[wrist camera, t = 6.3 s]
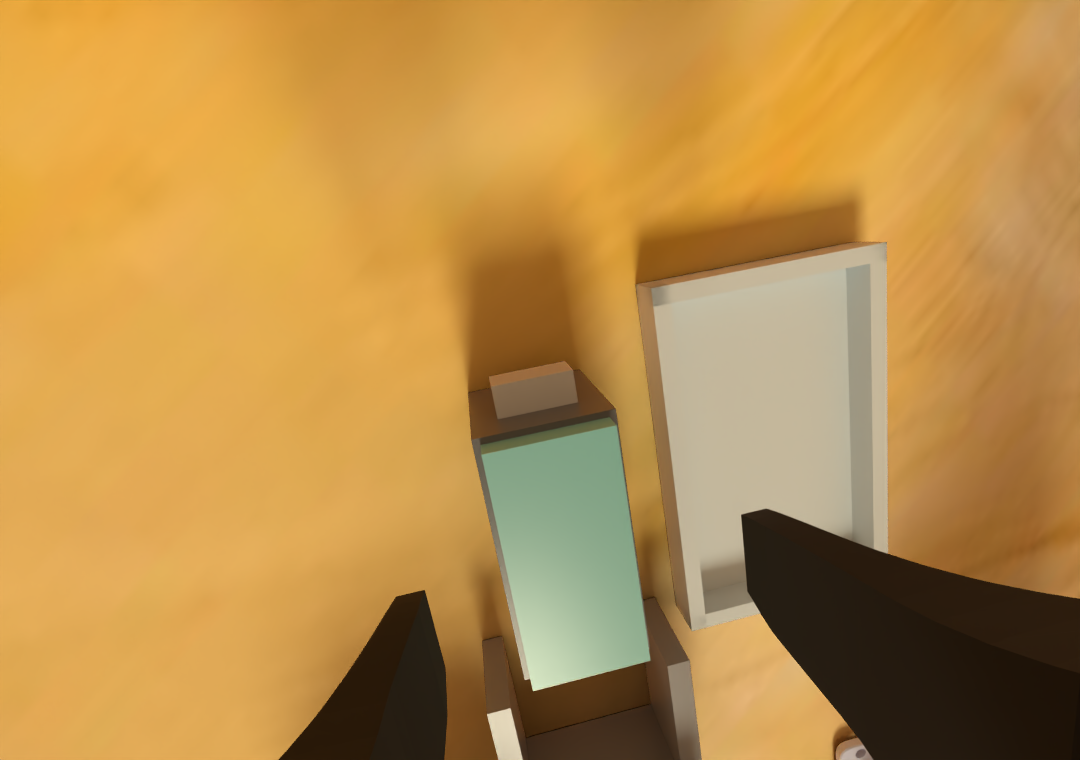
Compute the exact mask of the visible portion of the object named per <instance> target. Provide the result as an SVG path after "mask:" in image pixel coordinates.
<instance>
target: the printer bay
mask: <svg viewBox="0 0 1080 760" xmlns="http://www.w3.org/2000/svg"><path fill="white" fill-rule="evenodd" d="M643 603H644V610H645V617H646V624H647V631H648V638H649V645H650V648H649V654H650V661H648V662H645V668H646V675H647V681H648V688H649V695H650V701H651V704H650V705H646V706H642V707H639V708H635V709H631V710H627V711H624V712H620V713H616V714H613V715H609V716H605V717H602V718H598V719H594V720H591V721H587V722H583V723H580V724H576V725H572V726H569V727H565V728H561V729H558V730H554V731H550V732H547V733H543V734H539V735H536V736H532V737H528V738H526V737H525V733H524V729H523V724H522V720H521V716H520V711H519V707H518V703H517V698H516V694H515V690H514V685H513V681H512V677H511V672H510V668H509V664H508V659H507V655H506V650H505V646H504V642H503V637H502V636H500V637H496V638H492V639H488V640H484V641H482V646H483V661H484V677H485V692H486V707H487V717H488V721H489V725H490V729H491V733H492V737H493V740H494V744H495V748H496V752H497V756H498V760H702V758H701V750H700V742H699V733H698V725H697V717H696V709H695V701H694V693H693V685H692V676H691V668H690V660H689V659H688V657H687V655H686V653H685V651H684V650H683V648H682V646H681V644H680V642H679V641H678V639H677V637H676V635H675V633H674V632H673V630H672V628H671V626H670V624H669V623H668V621H667V619H666V617H665V615H664V614H663V612H662V610H661V608H660V606H659V605H658V603H657V601H656V599H655V597H654V598H650V599H646V600H643Z"/></svg>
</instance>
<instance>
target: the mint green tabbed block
mask: <svg viewBox="0 0 1080 760" xmlns="http://www.w3.org/2000/svg"><path fill="white" fill-rule="evenodd" d="M489 381H490V385H491V388H488V389H483V390H478V391H473V392H469V393H468V398H469V412H470V427H471V440H472V445H473V449H474V454H475V458H476V463H477V467H478V472H479V476H480V481H481V485H482V490H483V494H484V499H485V503H486V508H487V512H488V517H489V521H490V526H491V530H492V535H493V539H494V544H495V548H496V553H497V557H498V562H499V566H500V571H501V575H502V580H503V584H504V589H505V594H506V598H507V603H508V607H509V612H510V616H511V621H512V625H513V630H514V634H515V639H516V643H517V648H518V652H519V657H520V661H521V666H522V670H523V675H524V679H525V680H528V679H530V680H531V685H532V689H533V691H536V690H540V689H544V688H548V687H552V686H556V685H559V684H563V683H567V682H571V681H575V680H579V679H582V678H586V677H590V676H594V675H598V674H602V673H605V672H609V671H613V670H617V669H621V668H625V667H628V666H632V665H636V664H640V663H644V662H648V661H650V654H649V648H650V645H649V638H648V631H647V624H646V617H645V610H644V603H643V596H642V589H641V582H640V575H639V568H638V561H637V554H636V547H635V540H634V533H633V527H632V520H631V513H630V506H629V499H628V492H627V485H626V478H625V471H624V464H623V457H622V450H621V443H620V436H619V429H618V422H617V415H616V409H615V408H614V406H613V405H612V404H611V403H610V402H609V401H608V400H607V399H606V398H605V397H604V396H603V395H602V394H601V392H600V391H599V390H598V389H597V388H596V387H595V386H594V385H593V384H592V383H591V382H590V381H589V380H588V378H587V377H586V376H585V375H584V374H583V373H582V372H581V371H580V370H575V371H573V369H572V368H571V367H570V366H569V365H568V364H567V363H566V361H562V362H557V363H552V364H548V365H543V366H538V367H533V368H528V369H523V370H518V371H513V372H508V373H504V374H499V375H494V376H489Z"/></svg>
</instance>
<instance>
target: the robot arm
mask: <svg viewBox="0 0 1080 760" xmlns="http://www.w3.org/2000/svg"><path fill="white" fill-rule="evenodd" d="M741 521H742V533H743V545H744V557H745V569H746V581H747V592H748V593H749V595H750V597H751V598H752V600H753V602H754V603H755V605H756V607H757V608H758V610H759V612H760V613H761V615H762V616H763V618H764V619H765V621H766V623H767V624H768V626H769V627H770V629H771V630H772V632H773V633H774V634H775V635H776V637H777V638H778V639H779V641H780V642H781V643H782V644H783V646H784V647H785V648H786V649H787V650H788V652H789V653H790V654H791V655H792V657H793V658H794V659H795V660H796V662H797V663H798V664H799V665H800V666H801V668H802V669H803V670H804V671H805V673H806V674H807V675H808V676H809V677H810V679H811V680H812V681H813V682H814V683H815V685H816V686H817V687H818V688H819V690H820V691H821V692H822V693H823V694H824V696H825V697H826V698H827V699H828V700H829V702H830V703H831V704H832V705H833V707H834V708H835V709H836V710H837V711H838V713H839V714H840V715H841V716H842V717H843V719H844V720H845V721H846V723H847V724H848V725H849V727H850V728H851V729H852V730H853V732H854V733H855V734H856V736H857V737H858V738H854V739H851V740H847V741H844V742H842V743H841V744H839V745H838V747H837V749H836V760H1080V599H1078V598H1070V597H1064V596H1058V595H1052V594H1046V593H1040V592H1035V591H1030V590H1025V589H1020V588H1015V587H1010V586H1005V585H1000V584H995V583H990V582H986V581H982V580H977V579H973V578H969V577H965V576H961V575H957V574H954V573H950V572H946V571H942V570H939V569H935V568H931V567H928V566H924V565H921V564H918V563H914V562H911V561H908V560H905V559H902V558H899V557H896V556H893V555H890V554H887V553H884V552H881V551H878V550H875V549H873V548H870V547H867V546H864V545H861V544H859V543H856V542H853V541H851V540H848V539H846V538H843V537H840V536H838V535H835V534H833V533H830V532H828V531H825V530H822V529H820V528H817V527H815V526H812V525H810V524H807V523H805V522H802V521H800V520H797V519H795V518H792V517H789V516H787V515H784V514H781V513H779V512H776V511H773V510H770V509H762V510H758V511H754V512H749V513H745V514H741ZM446 727H447V693H446V672H445V665H444V661H443V657H442V653H441V650H440V646H439V642H438V638H437V635H436V631H435V627H434V623H433V620H432V616H431V612H430V608H429V604H428V601H427V597H426V593H425V590H422V591H418V592H414V593H410V594H406V595H401V596H397V597H396V598H395V599H394V601H393V602H392V604H391V605H390V607H389V609H388V610H387V612H386V613H385V615H384V617H383V618H382V620H381V622H380V623H379V625H378V627H377V628H376V630H375V632H374V633H373V635H372V636H371V638H370V640H369V641H368V643H367V644H366V646H365V647H364V649H363V650H362V652H361V654H360V655H359V657H358V658H357V660H356V661H355V663H354V664H353V666H352V667H351V669H350V670H349V672H348V673H347V675H346V676H345V678H344V679H343V680H342V682H341V683H340V684H339V686H338V687H337V689H336V690H335V691H334V693H333V694H332V695H331V697H330V698H329V700H328V701H327V702H326V704H325V705H324V706H323V708H322V709H321V710H320V712H319V713H318V714H317V716H316V717H315V718H314V719H313V720H312V722H311V723H310V724H309V725H308V727H307V728H306V729H305V730H304V731H303V732H302V734H301V735H300V736H299V737H298V738H297V739H296V741H295V742H294V743H293V744H292V745H291V746H290V748H289V749H288V750H287V751H286V752H285V753H284V754H283V755H282V756H281V758H280V759H279V760H444V754H445V741H446Z"/></svg>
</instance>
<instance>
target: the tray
mask: <svg viewBox="0 0 1080 760" xmlns="http://www.w3.org/2000/svg"><path fill="white" fill-rule="evenodd" d="M636 292H637V300H638V308H639V316H640V324H641V332H642V340H643V347H644V355H645V363H646V371H647V379H648V387H649V395H650V403H651V411H652V419H653V426H654V434H655V442H656V450H657V458H658V466H659V474H660V482H661V490H662V498H663V505H664V513H665V521H666V529H667V537H668V545H669V553H670V561H671V569H672V577H673V584H674V592H675V600H676V605H677V607H678V609H679V610H680V612H681V614H682V615H683V617H684V619H685V620H686V622H687V624H688V625H689V627H690V629H691V630H692V631H695V630H699V629H703V628H707V627H710V626H714V625H718V624H722V623H726V622H730V621H733V620H737V619H741V618H745V617H749V616H753V615H756V614H760V612H759V610H758V608H757V607H756V605H755V603H754V602H753V600H752V598H751V597H750V595H749V593H748V592H747V581H746V569H745V557H744V545H743V533H742V521H741V514H745V513H749V512H754V511H758V510H762V509H770V510H773V511H776V512H779V513H781V514H784V515H787V516H789V517H792V518H795V519H797V520H800V521H802V522H805V523H807V524H810V525H812V526H815V527H817V528H820V529H822V530H825V531H828V532H830V533H833V534H835V535H838V536H840V537H843V538H846V539H848V540H851V541H853V542H856V543H859V544H861V545H864V546H867V547H870V548H873V549H875V550H878V551H881V552H884V553H887V554H888V439H887V242H850V243H845V244H840V245H835V246H830V247H825V248H820V249H815V250H809V251H804V252H799V253H794V254H789V255H784V256H779V257H774V258H768V259H763V260H758V261H753V262H748V263H743V264H738V265H733V266H728V267H722V268H717V269H712V270H707V271H702V272H697V273H692V274H687V275H681V276H676V277H671V278H666V279H661V280H656V281H651V282H646V283H640V284H636Z"/></svg>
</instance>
